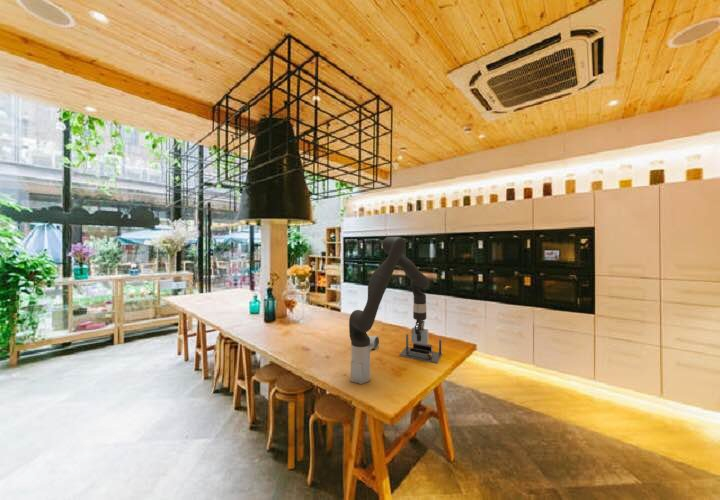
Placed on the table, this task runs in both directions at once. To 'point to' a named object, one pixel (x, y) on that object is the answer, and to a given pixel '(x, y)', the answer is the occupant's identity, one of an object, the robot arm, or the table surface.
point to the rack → (421, 352)
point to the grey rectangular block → (423, 336)
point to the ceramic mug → (374, 342)
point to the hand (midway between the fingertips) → (419, 339)
